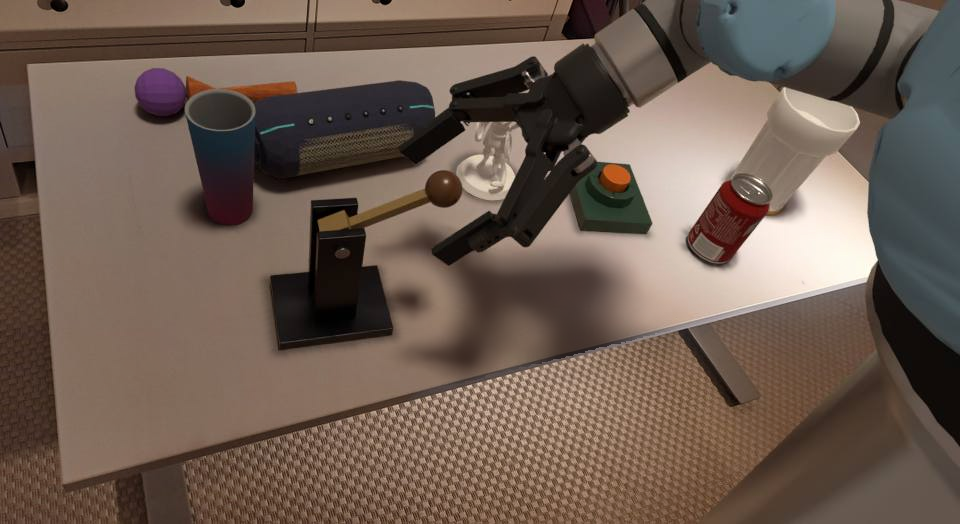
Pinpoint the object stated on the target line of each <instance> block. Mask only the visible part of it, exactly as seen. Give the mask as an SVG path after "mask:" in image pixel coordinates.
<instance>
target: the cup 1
mask: <svg viewBox="0 0 960 524" xmlns="http://www.w3.org/2000/svg"><path fill="white" fill-rule="evenodd" d="M184 114H185V118H186V122H187V128H188V131H189V136H190V140H191V144H192V149H193V153H194V157H195V161H196V165H197V170H198V174H199V179H200V183H201V188H202V192H203V196H204V199H205V204H206V208H207V213H208V216H209V217H210V219H212V221H214V222H215V223H218V224H220V225H224V226H225V225H226V226H234V225H235V226H236V225H239V224H243V223H244V222H246V221H248V220H249V219H250V217H251V216H252V214H253V209H254V177H255V161H254V148H255V114H256V112H255V106H254V104H253V101H251V100H250V99H249V98H248V97H246V96H245V95H243V94H241V93H238V92H236V91H232V90H226V89H217V88H216V89H211V90H206V91H202V92H199V93H197V94H195V95H194V96H192V97H191V98H190V99H189V100H188V101H187V100H186V102H185V104H184Z"/></svg>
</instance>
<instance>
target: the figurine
mask: <svg viewBox="0 0 960 524" xmlns="http://www.w3.org/2000/svg"><path fill="white" fill-rule="evenodd" d="M512 123H513V122H491V124H490V122H476V127H475V134H474V140H475V142H477V143H479V142H482V144H483V146H484V147H483V149H482V152H481V153H482V154H474V155H471V156H469V157H467V158H466V159H463V160H462V161H461V162H460V163H459V164H458V166H457V167H456V171H455V174H456V175H457V176H458V177H459V179H460V181H461V183H462V188H463V190H464V191H466V192H467V193H468V194H470V195H472V196H473V197H476V198H479V199H481V200H486V201H502V200H504V199H505V197H506V195H507V193H508V191H509V189H510V187H511V185H512V183H513V181H514V178H515V176H516V174H515V172H514V170H513V169H512V167H511V165H509V164H508V163H510V153H511V150H512V147H513V136H512V133H511V132H512V131H514V130H516V129H518V128H520V127H519V126H518V125H517V123H516V122H515V123H514V124H512ZM489 124H490V126H489V128H488V129H487V132H486V134H485V136H484V138H483V134H484V132H485V130H486V128H487V126H488V125H489ZM511 124H512V125H511ZM510 125H511V126H510ZM509 126H510V127H509ZM482 140H483V141H482ZM508 144H509V146H508ZM492 149H494V153H493V155H492ZM506 160H507V162H508V163H507V162H506Z"/></svg>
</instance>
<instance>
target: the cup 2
mask: <svg viewBox="0 0 960 524" xmlns="http://www.w3.org/2000/svg"><path fill="white" fill-rule="evenodd" d="M766 117H767V119H766V121H765V123H764V124H763V125H762V128H761V129H760V130H759V132H758V133H757V135H756V136H755V138H754V140H753V142H752V143H751V145H750V146H749V148H748V149H747V151H746V152H745V154H744V156H743V157H742V159H741V161H740V162H739V164H738V165H737V167H735V170H734V172H732V174H731V176H730V177H729V179H728V180H730V179H732V178H733V177H734V176H735V175H736V174H739V173H747V174H751V175H754V176H756V177H758V178H760V179H761V180H763V181H764V182H765V183H766V184H767V185H768V186H769V187H770V189H771V191H772V194H773V197H772V200H771V201H770V209H769V211H768V213H767V214H766V215H769V216H772V215H775V214H778V213H780V211H781V210H782V209H783V208H784V206H786V203H787V202H789V200H790V198H792V196H793V195H795V193H796V192H797V191H798V189H799V188H800V187H801V186H802V185H803V184H804V182H806V180H807V179H808V178H809V177H810V176H811V174H812V173H813V172H814V171H815V170H816V169H817V168H818V166H819V165H820V164H821V163H822V162H823V161H824V160H825V158H826V157H828V156H831V155H833V154H836V153H837V152H838V151H839V150H840V149H841V148H842V147H843V146H844V144H845V143H846V142H847V141H848V140H849V139H850V138H851V137H852V135H853V134H854V133H855V132H856V131H857V129H858V128H859V126H860V124H861V121H860V118H859V113H857V111H856V110H855V108H854V107H851V106H848V105H845V104H842V103H839V102H835V101H829V100H826V99H823V98H820V97H816V96H813V95H810V94H806V93H803V92H799V91H796V90H792V89H789V88H785V87H782V89H781V90H780V92H779V93H778V95H777V96H776V98H775V99H774V101H773V102H772V105H771V106H770V107H769V110H768V111H767V113H766Z"/></svg>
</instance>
